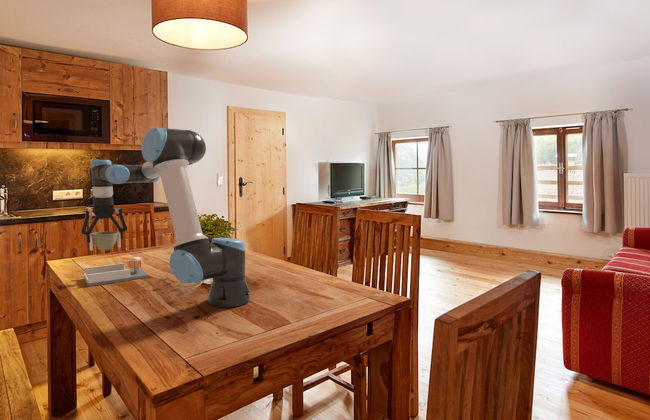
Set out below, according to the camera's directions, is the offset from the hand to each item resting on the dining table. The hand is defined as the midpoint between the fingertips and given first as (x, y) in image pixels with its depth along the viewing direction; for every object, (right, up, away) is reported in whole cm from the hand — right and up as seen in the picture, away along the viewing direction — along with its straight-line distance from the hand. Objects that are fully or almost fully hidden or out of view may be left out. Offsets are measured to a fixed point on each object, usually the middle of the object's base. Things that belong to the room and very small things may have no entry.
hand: (105, 248), depth 173 cm
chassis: (+3, -13, +4) cm, 14 cm away
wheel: (+9, -9, +8) cm, 15 cm away
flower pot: (0, 0, 0) cm, 1 cm away
